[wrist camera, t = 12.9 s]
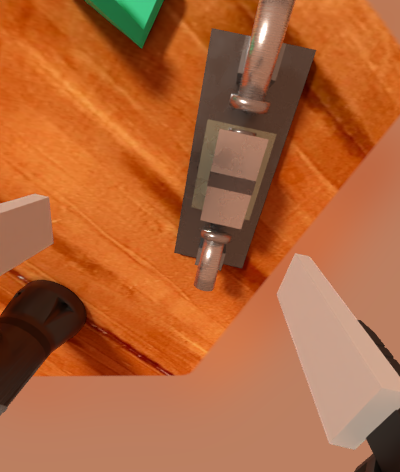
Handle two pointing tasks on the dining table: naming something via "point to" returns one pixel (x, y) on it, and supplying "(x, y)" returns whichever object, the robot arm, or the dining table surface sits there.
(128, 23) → the camera mount
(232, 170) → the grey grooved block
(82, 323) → the robot arm
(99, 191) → the dining table surface
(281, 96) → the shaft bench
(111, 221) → the dining table surface
